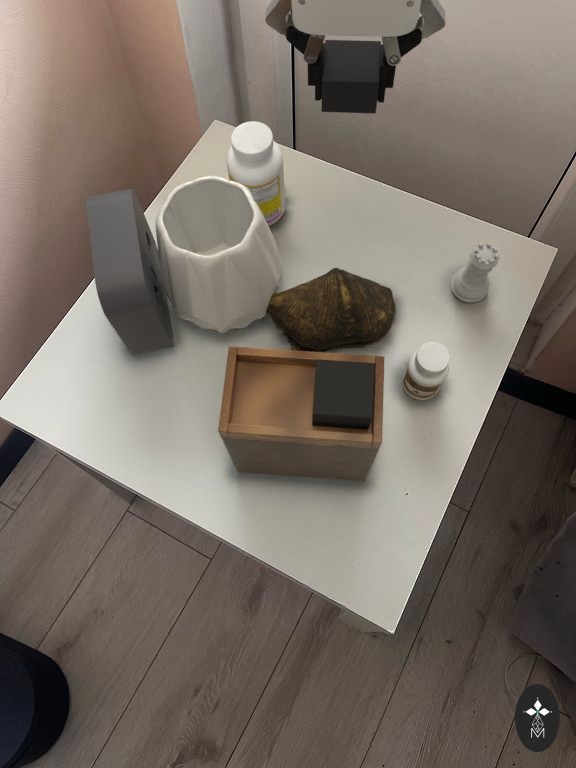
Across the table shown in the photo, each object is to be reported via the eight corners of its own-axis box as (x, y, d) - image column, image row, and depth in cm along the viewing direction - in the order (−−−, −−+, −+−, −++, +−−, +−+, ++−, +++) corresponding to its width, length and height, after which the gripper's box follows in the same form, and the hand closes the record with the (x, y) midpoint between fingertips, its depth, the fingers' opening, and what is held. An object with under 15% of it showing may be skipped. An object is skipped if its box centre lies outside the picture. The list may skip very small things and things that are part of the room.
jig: (367, 411, 70) (384, 356, 55) (365, 481, 67) (382, 443, 52) (245, 403, 70) (228, 345, 56) (237, 472, 68) (217, 431, 53)
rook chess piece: (493, 283, 75) (514, 246, 68) (476, 310, 74) (496, 276, 66) (460, 266, 76) (477, 228, 69) (443, 293, 75) (459, 257, 67)
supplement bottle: (245, 182, 82) (235, 107, 70) (292, 195, 81) (290, 121, 69) (227, 221, 79) (213, 151, 67) (275, 235, 78) (269, 167, 66)
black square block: (370, 377, 56) (374, 362, 52) (368, 430, 54) (372, 418, 51) (315, 373, 56) (316, 358, 53) (312, 426, 54) (312, 413, 51)
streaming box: (80, 185, 64) (128, 176, 64) (119, 260, 78) (159, 252, 78) (93, 305, 59) (146, 294, 59) (133, 362, 73) (176, 354, 73)
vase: (256, 358, 72) (244, 295, 58) (150, 319, 74) (113, 250, 60) (300, 262, 77) (298, 182, 63) (198, 228, 79) (174, 143, 65)
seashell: (389, 274, 75) (400, 254, 68) (400, 345, 74) (413, 332, 67) (257, 290, 75) (255, 272, 68) (266, 362, 74) (265, 351, 67)
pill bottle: (396, 393, 70) (406, 367, 63) (408, 360, 72) (419, 331, 65) (433, 406, 70) (448, 382, 62) (444, 373, 71) (460, 345, 64)
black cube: (377, 73, 58) (381, 40, 55) (375, 114, 56) (379, 82, 53) (324, 71, 58) (325, 39, 55) (321, 112, 57) (321, 81, 53)
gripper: (494, -169, 41) (442, 62, 58) (242, -169, 42) (263, 58, 59) (499, -96, 38) (442, 124, 55) (229, -99, 39) (255, 118, 56)
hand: (350, 88), depth 57 cm, fingers closed on black cube, 5 cm apart
